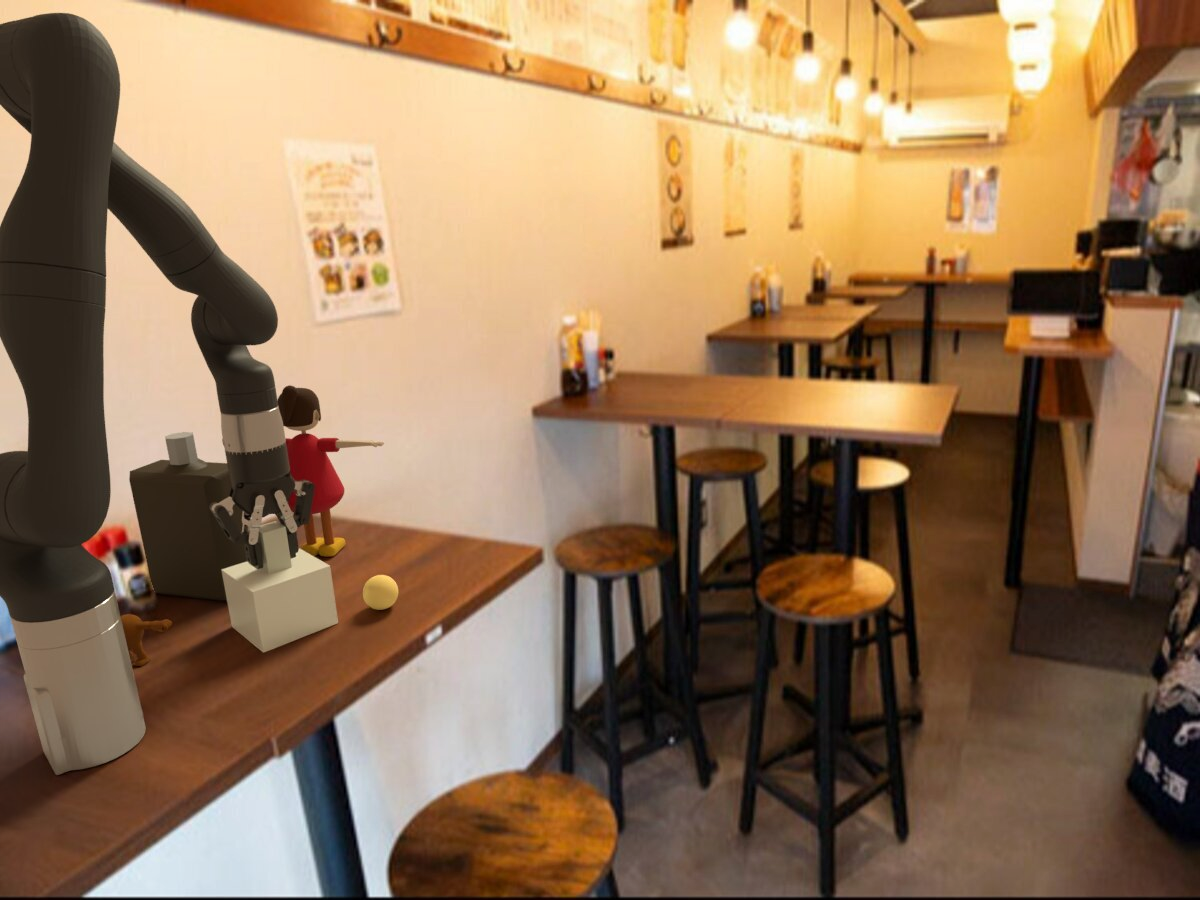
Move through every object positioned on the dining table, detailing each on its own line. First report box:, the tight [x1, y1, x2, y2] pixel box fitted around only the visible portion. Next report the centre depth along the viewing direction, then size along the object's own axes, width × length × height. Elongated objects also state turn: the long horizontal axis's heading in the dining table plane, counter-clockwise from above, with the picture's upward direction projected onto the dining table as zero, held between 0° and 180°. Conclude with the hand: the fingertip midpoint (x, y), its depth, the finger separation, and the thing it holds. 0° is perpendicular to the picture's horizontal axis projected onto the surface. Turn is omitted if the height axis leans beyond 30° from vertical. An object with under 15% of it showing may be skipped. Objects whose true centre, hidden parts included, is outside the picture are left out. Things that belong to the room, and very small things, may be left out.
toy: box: [277, 384, 385, 558], centre depth 133 cm, size 27×11×30 cm, turn 84°
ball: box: [362, 574, 399, 611], centre depth 116 cm, size 5×5×5 cm
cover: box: [221, 520, 339, 653], centre depth 111 cm, size 11×11×15 cm
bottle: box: [128, 431, 247, 602], centre depth 122 cm, size 8×16×25 cm, turn 74°
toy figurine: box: [120, 613, 173, 667], centre depth 103 cm, size 12×4×7 cm, turn 85°
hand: (274, 561), depth 110 cm, fingers open, 4 cm apart
